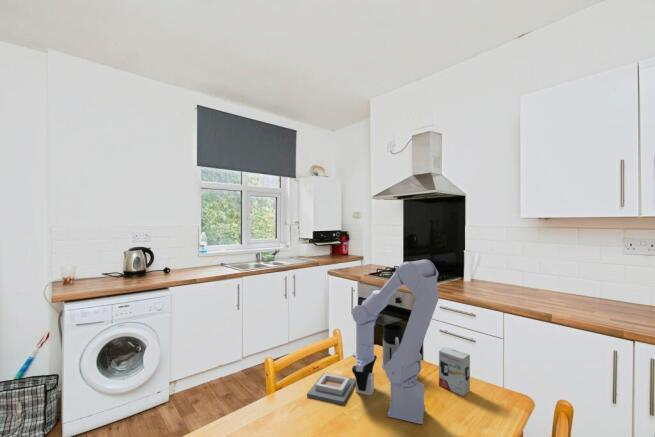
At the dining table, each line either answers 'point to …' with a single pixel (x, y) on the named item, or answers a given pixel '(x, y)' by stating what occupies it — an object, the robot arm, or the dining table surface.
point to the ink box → (454, 370)
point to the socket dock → (332, 388)
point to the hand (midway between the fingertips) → (364, 384)
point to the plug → (369, 385)
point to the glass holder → (391, 341)
